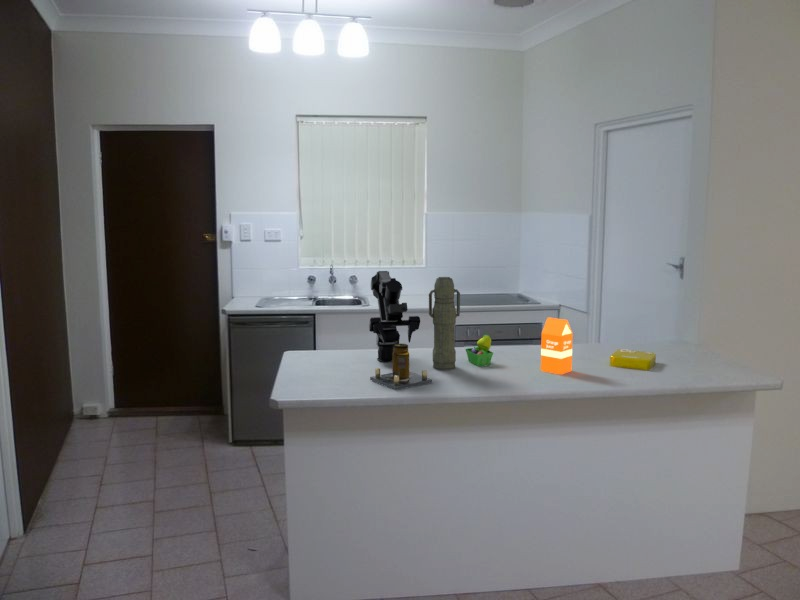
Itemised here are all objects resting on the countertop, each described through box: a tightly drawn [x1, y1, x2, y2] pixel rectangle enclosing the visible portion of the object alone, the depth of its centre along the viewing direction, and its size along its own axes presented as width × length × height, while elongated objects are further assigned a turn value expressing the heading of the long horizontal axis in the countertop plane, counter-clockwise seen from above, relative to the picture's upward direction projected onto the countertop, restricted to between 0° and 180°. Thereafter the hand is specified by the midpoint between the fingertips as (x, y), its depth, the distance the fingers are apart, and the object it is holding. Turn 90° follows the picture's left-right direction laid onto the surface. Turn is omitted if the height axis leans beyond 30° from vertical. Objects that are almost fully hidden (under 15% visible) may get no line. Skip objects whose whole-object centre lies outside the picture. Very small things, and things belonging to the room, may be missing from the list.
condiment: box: [387, 343, 412, 381], centre depth 241 cm, size 7×8×12 cm
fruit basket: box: [464, 334, 494, 367], centre depth 267 cm, size 11×9×11 cm
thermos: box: [428, 276, 461, 371], centre depth 259 cm, size 9×12×35 cm
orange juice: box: [540, 317, 574, 376], centre depth 254 cm, size 8×9×20 cm
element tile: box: [609, 348, 657, 371], centre depth 264 cm, size 15×15×5 cm
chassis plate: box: [369, 367, 433, 391], centre depth 241 cm, size 16×16×4 cm
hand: (397, 342), depth 247 cm, fingers open, 9 cm apart
